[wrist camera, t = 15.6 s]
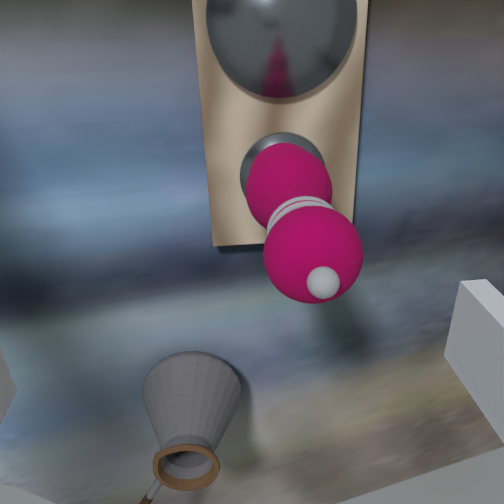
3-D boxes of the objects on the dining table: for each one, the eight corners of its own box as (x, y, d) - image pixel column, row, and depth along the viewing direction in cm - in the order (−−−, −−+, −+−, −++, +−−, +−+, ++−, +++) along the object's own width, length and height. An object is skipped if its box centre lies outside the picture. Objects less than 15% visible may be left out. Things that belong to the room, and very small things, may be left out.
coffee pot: (180, 322, 51) (166, 429, 37) (259, 366, 54) (272, 478, 41) (88, 432, 58) (48, 555, 44) (163, 465, 61) (147, 587, 48)
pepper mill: (335, 156, 41) (421, 259, 23) (299, 223, 44) (350, 360, 26) (264, 123, 39) (297, 206, 21) (230, 195, 42) (235, 321, 24)
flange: (241, 216, 44) (242, 219, 43) (237, 134, 40) (237, 135, 39) (323, 212, 44) (324, 214, 43) (326, 129, 40) (327, 131, 40)
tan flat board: (213, 239, 46) (213, 246, 45) (171, -249, 30) (169, -261, 28) (347, 231, 47) (351, 237, 45) (379, -253, 30) (386, -265, 29)
